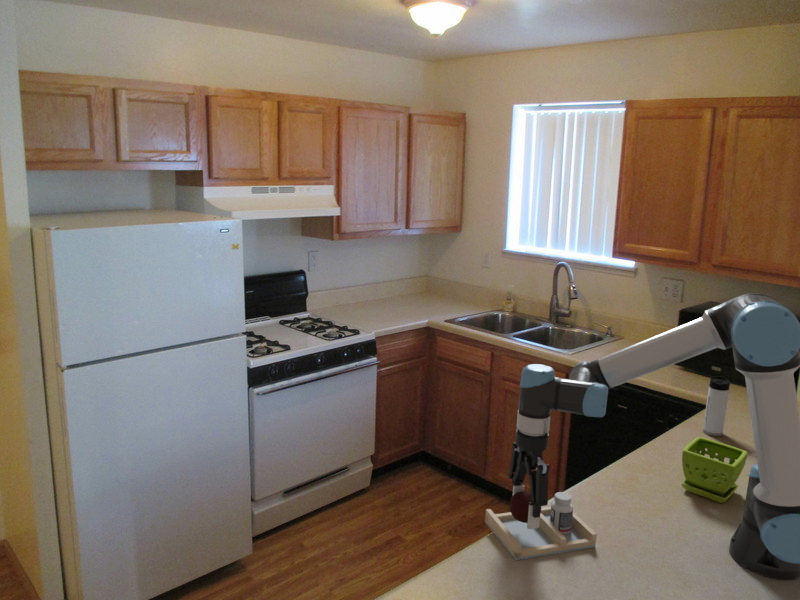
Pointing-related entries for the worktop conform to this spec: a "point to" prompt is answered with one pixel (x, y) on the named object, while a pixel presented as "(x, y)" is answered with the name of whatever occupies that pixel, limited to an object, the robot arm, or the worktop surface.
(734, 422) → the worktop surface
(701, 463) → the flower pot
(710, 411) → the travel mug
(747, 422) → the worktop surface
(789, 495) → the robot arm
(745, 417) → the worktop surface
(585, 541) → the open tray
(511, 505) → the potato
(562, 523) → the pill bottle
